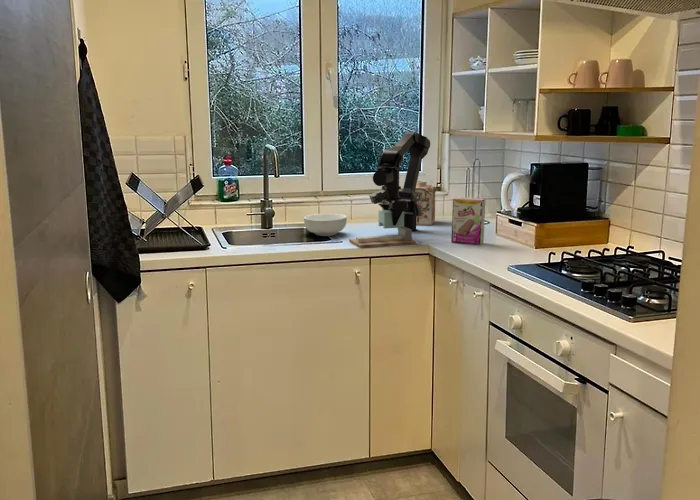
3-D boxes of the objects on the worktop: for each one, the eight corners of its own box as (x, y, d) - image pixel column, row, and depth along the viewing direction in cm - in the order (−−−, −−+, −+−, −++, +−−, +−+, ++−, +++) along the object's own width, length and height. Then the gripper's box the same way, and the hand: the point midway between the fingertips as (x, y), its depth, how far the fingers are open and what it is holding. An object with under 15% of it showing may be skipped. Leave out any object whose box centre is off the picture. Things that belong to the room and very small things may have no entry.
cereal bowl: (313, 229, 292) (313, 212, 290) (352, 231, 287) (352, 214, 285) (297, 236, 276) (297, 218, 275) (337, 239, 271) (337, 220, 269)
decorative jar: (435, 221, 312) (436, 180, 308) (432, 225, 301) (433, 182, 297) (408, 220, 314) (408, 179, 311) (404, 224, 303) (404, 182, 300)
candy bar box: (450, 242, 264) (452, 198, 261) (454, 240, 269) (456, 196, 266) (480, 245, 260) (482, 200, 256) (484, 242, 264) (485, 198, 261)
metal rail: (406, 238, 268) (406, 234, 268) (409, 239, 265) (409, 235, 265) (355, 241, 262) (355, 237, 261) (358, 242, 259) (358, 238, 259)
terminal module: (397, 224, 281) (397, 209, 279) (403, 227, 275) (404, 211, 273) (378, 225, 278) (378, 210, 277) (384, 228, 272) (384, 212, 271)
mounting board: (404, 238, 273) (404, 235, 272) (416, 244, 261) (416, 241, 261) (349, 241, 266) (349, 239, 266) (359, 248, 255) (359, 245, 254)
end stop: (404, 237, 270) (404, 226, 269) (411, 240, 263) (411, 229, 262) (398, 237, 269) (398, 227, 268) (405, 240, 262) (405, 230, 262)
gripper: (363, 181, 279) (363, 221, 282) (380, 187, 262) (380, 229, 265) (390, 180, 283) (389, 219, 286) (408, 185, 265) (407, 227, 268)
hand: (391, 223), depth 276 cm, fingers closed on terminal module, 6 cm apart
